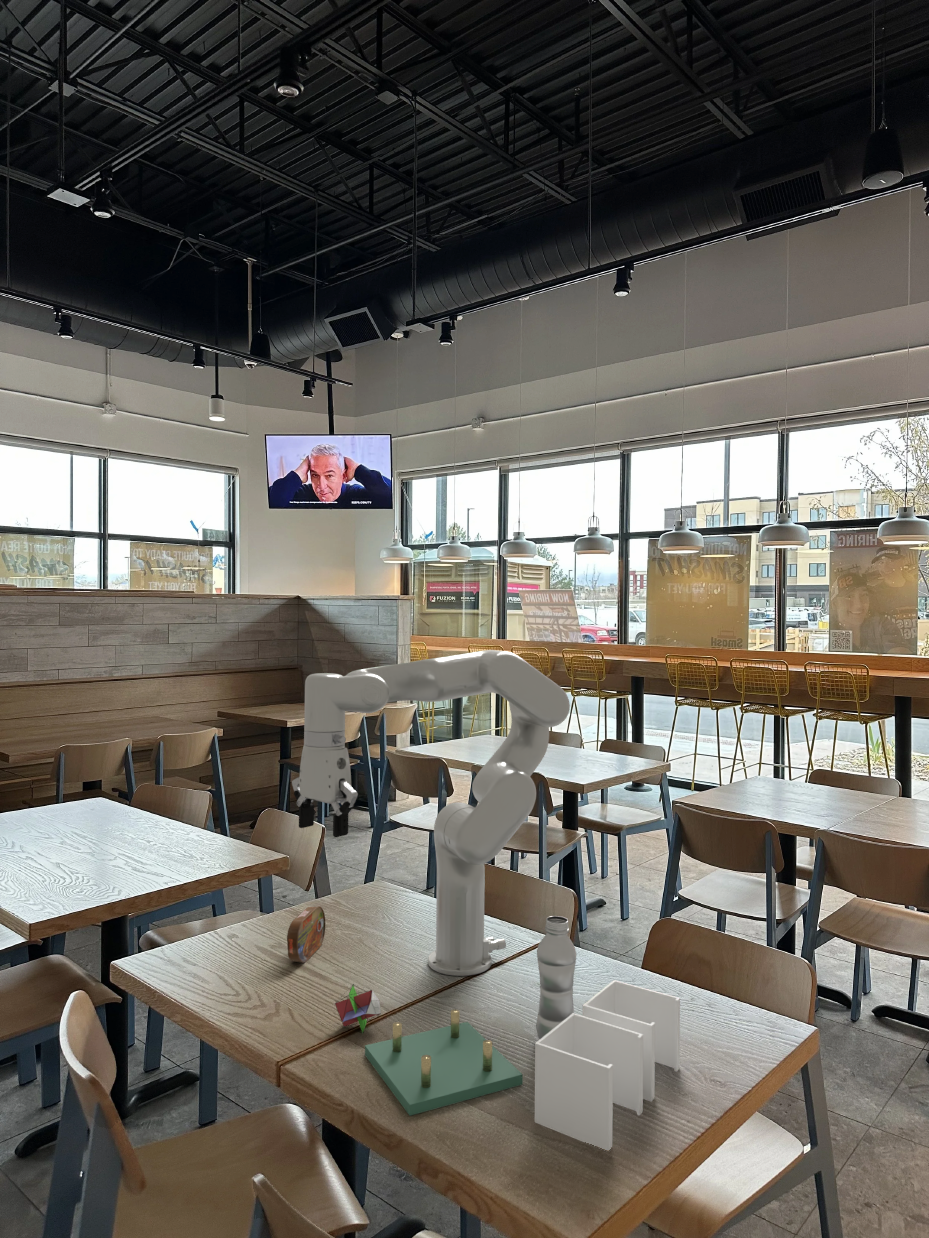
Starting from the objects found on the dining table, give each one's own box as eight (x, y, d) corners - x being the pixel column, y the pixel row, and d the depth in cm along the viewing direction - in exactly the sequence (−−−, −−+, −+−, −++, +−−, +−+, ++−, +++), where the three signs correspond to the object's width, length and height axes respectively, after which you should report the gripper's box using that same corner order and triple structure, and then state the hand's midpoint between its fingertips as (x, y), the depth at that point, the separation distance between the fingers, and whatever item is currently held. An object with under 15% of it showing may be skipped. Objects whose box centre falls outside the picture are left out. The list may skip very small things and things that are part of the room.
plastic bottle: (548, 1057, 132) (550, 929, 132) (528, 1037, 138) (529, 915, 138) (584, 1049, 135) (585, 924, 135) (562, 1030, 141) (563, 910, 141)
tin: (299, 969, 165) (299, 926, 165) (283, 967, 165) (284, 924, 165) (326, 940, 179) (327, 901, 179) (312, 939, 180) (313, 899, 180)
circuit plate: (467, 1030, 141) (467, 1021, 141) (522, 1084, 125) (522, 1074, 125) (364, 1054, 133) (364, 1045, 133) (409, 1115, 116) (409, 1104, 116)
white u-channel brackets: (613, 1048, 136) (614, 979, 136) (679, 1069, 129) (680, 997, 129) (534, 1123, 115) (535, 1043, 115) (608, 1153, 109) (609, 1068, 109)
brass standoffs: (457, 1033, 137) (457, 1008, 137) (493, 1070, 126) (494, 1043, 126) (391, 1048, 131) (391, 1023, 131) (423, 1088, 120) (423, 1060, 120)
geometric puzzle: (322, 1023, 138) (351, 985, 138) (330, 1004, 145) (358, 967, 145) (356, 1050, 138) (386, 1012, 138) (363, 1030, 145) (392, 994, 145)
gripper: (371, 742, 156) (369, 835, 156) (310, 733, 167) (308, 820, 167) (340, 746, 150) (338, 843, 150) (279, 736, 161) (277, 826, 161)
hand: (323, 831), depth 158 cm, fingers open, 9 cm apart
